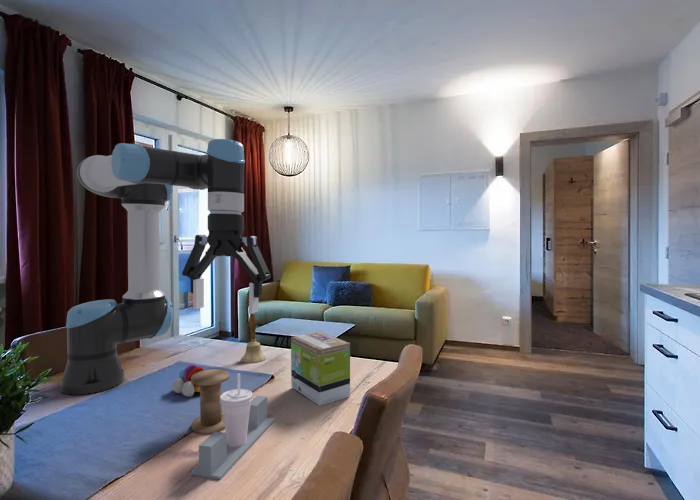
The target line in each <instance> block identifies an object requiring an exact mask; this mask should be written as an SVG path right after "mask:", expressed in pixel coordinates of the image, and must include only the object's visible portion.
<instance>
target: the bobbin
mask: <svg viewBox="0 0 700 500" xmlns="http://www.w3.org/2000/svg"><path fill="white" fill-rule="evenodd" d="M229 379H230V371H228V370H226V369H222V368H212V369H206V370H205V369H204V371H200V372H197V373H195V374H193V375H192V376H191V382H192V383H193V384H195V385H200V392H199V400H200V401H199V406H200V407H199V410H200V411H199V412H200V413H199V416H198V417H197V418H195V419H194V420H193V421H192V422H191V430H192V431H193V433H195V434H200V435H207V434H208V435H209V434H213V433H214V432H215V431H216V432H221V431H223V430H225V424H224V417H223V413H222V404H221V403H220V396H221V395H222V384H223V383H224V382H226V381H228V380H229Z"/></svg>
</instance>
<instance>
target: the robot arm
mask: <svg viewBox="0 0 700 500" xmlns="http://www.w3.org/2000/svg"><path fill="white" fill-rule="evenodd" d="M244 151H245V149H244V145H243V144H242V143H241V142H240V141H236V140H233V139H228V138H213V139H211V140H209V141H208V143H207V149H206V154H195V153H190V152H183V151H175V150H168V149H163V148H157V147H151V146H147V145H146V146H145V145H141V144H138V143H124V142H122V143H121V142H120V143H117V144H116V145H115V146H114V149H112V154H110V155H102V154H101V155H100V154H96V155H95V154H94V155H91V156H88V157H86V158H85V159H83V160H81V162H80V163H79V165H78V166H77V170H76V176H77V179H78V181H79V182H80V184H81V185H82V187H83V188H85V189H86V190H88V191H89V192H91V193H93V194H95V195H98V196H102V197H107V198H112V199H120V200H121V206H122V207H123V208H124V209H125V210H126V211H127V278H128V279H127V280H128V283H127V285H128V286H127V287H128V288H127V289H128V290H127V291H126V293H124V294H123V295H122V302H121V303H118V302H117V301H116V300H115V299H112V298H110V299H109V298H107V299H97V300H93V301H87V302H84V303H80V304H78V305H75V306H72V307H71V308H70V309H69V310H68V311H67V315H66V324H65V327H66V343H67V344H66V345H67V346H66V347H67V348H66V349H67V362H66V365H65V368H64V372H63V376H62V378H61V380H60V381H59V388H60V392H61V393H62V392H63V393H62V394H64V393H65V394H64V395H69V394H72V395H73V396H75V395H76V396H78V395H79V396H80V395H89V394H88V393H90V394H94V393H95V392H96V393H99V392H104V391H107V390H110V389H113V388H115V387H118V386H119V385H121V384H123V383H124V381H125V371H124V369H123V367H122V365H121V364H122V363H121V362H120V359H119V355H118V349H117V347H118V345H119V344H124V343H129V342H134V341H135V342H136V341H140V340H146V339H149V340H150V339H153V338H157V337H160V336H161V337H162V336H163V335H166V334H167V333H168V331H169V330H170V328H171V326H172V323H173V318H174V317H173V316H174V307H172V306H173V304H172V302H171V300H170V299H169V298H166V293H165V292H164V291H163V290H161V282H160V280H161V275H160V274H161V273H160V272H161V269H160V268H161V263H160V261H161V260H160V259H161V258H160V257H161V255H160V253H161V252H160V251H161V249H160V248H161V247H160V245H161V243H160V242H161V241H160V240H161V239H160V238H161V236H160V232H161V231H160V229H161V228H160V225H161V224H160V219H161V218H160V216H161V215H160V213H161V211H162V210H164V208H165V207H166V203H167V202H169V201H170V200H171V198H172V196H173V192H174V190H173V188H174V186H175V187H183V188H189V189H192V190H200V191H201V190H202V191H203V190H207V211H208V212H210V213H208V215H207V231H208V235H205V234H196V235H195V237H194V245H193V247H192V249H191V252H190V254H189V256H188V259H187V261H186V263H185V265H184V267H183V270H182V273H181V275H182V276H184V277H187V278H189V279H190V294H193V295H192V297H193V298H192V300H193V301H192V302H193V305H192V310H198V309H202V308H204V307H205V304H204V302H205V298H204V297H205V294H204V293H205V290H204V289H205V287H204V285H205V280H204V279H205V278H202V276H203V275H204V273H205V272H206V270H207V269H208V268H209V267H210V265H211V264H212V263H213V261H214V260H215V259H216V258H217V257H233V259H236V260H237V262H238V264H239V265H240V266H241V268H243V270H244V271H245V272H246V274H247V275H248V277H249V278H250V280H252V281H251V282H249V285H248V286H249V288H248V289H249V291H248V293H249V294H248V298H249V299H248V304H249V305H248V306H249V307H248V314H253V313H254V314H255V313H258V312H259V298H261V297H262V295H263V283H264V281H267V280H269V279H271V276H272V275H271V272H270V270H269V268H268V266H267V264H266V261H265V260H264V257H263V254H262V252H261V250H260V248H259V245H258V237H257V236H256V235H248V236H244V230H245V216H244V215H243V214H242V213H243V212H245V163H246V160H245V152H244ZM207 244H208V245H209V248H207V250H206V251H205V249H206V245H207ZM244 245H245V246H246V247H247V250H248V253H249V254H250V255H249V256H250V257H251V259H250V258H249V256H248V255H247V252H246V251H245V250H244V249H243V246H244ZM204 251H205V253H204ZM203 253H204V256H203ZM202 256H203V257H202ZM201 257H202V258H201ZM117 385H118V386H117ZM112 387H113V388H112Z"/></svg>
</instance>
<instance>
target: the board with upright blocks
mask: <svg viewBox="0 0 700 500" xmlns="http://www.w3.org/2000/svg"><path fill="white" fill-rule="evenodd" d="M274 422H275V418H270V417H268V396H266V395H265V396H264V395H256V396H255V397H253V399H252V400H251V405H250V413H249V422H248V431H247V439H246V443H245V444H244V445H242V446H239V447H230V446H228V444H227V433H226V432H223V431H222V432H221V431H219V432H216V431H215V432H214V433H211V435H209V436H208V437H206V438H205V440H204V441H202V442H201V443H200V444H199V445H198V464H197V465H196V466H194V467H193V468H192V469H191V470H190V471H189V475H190V476H196V477H202V478H208V479H216V480H222V479H223V478H224V477H225V475H226V474H228V472H229V471H230V470H231V469H232V468H233V467H234V466H235V465H236V463H238V462H239V460H240V459H241V458H243V456H244V455H245V454H246V453H247V452H248V451H249V449H250V448H251V447H252V446H253V445H254V444H255V443H256V442H257V441H258V440H259V438H260V437H262V436H263V435H264V433H265V432H267V430H268V429H269V427H271V425H272V424H273V423H274Z"/></svg>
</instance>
